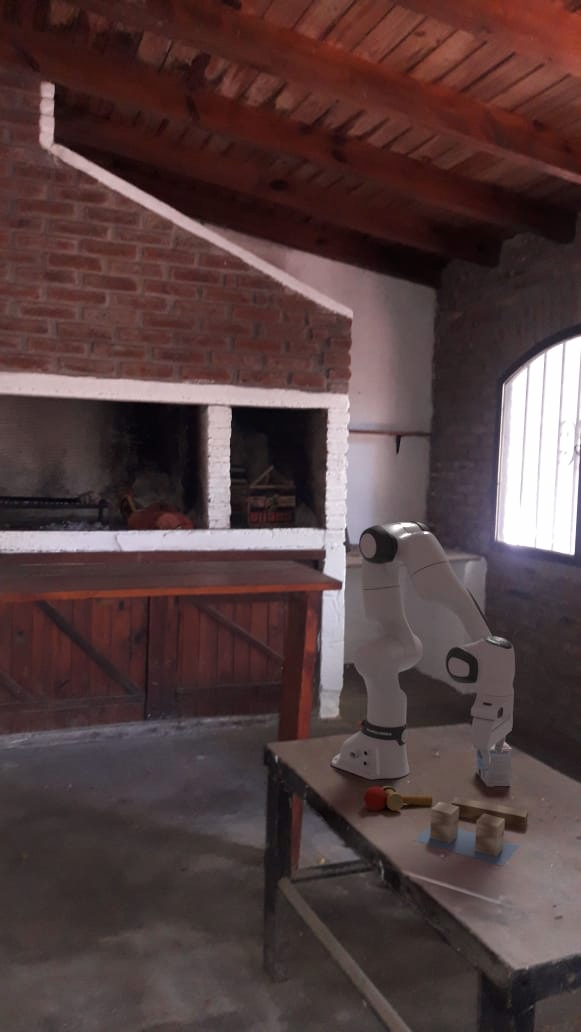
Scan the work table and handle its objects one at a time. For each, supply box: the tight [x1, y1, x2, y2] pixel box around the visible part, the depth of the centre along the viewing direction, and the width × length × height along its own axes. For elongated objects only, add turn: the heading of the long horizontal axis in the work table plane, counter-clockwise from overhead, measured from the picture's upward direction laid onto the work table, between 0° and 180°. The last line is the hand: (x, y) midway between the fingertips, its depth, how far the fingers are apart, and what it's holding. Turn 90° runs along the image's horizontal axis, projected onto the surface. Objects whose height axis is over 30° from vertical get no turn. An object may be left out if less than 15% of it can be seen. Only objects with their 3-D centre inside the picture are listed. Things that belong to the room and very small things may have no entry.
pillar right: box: [475, 814, 505, 857], centre depth 191 cm, size 5×5×7 cm
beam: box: [451, 796, 529, 830], centre depth 208 cm, size 18×4×4 cm, turn 66°
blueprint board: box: [413, 824, 519, 867], centre depth 195 cm, size 21×12×1 cm, turn 58°
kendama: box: [363, 785, 433, 812], centre depth 214 cm, size 8×6×18 cm
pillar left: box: [430, 801, 460, 843], centre depth 197 cm, size 5×5×7 cm
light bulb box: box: [475, 741, 513, 787], centre depth 235 cm, size 11×7×11 cm, turn 5°
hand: (492, 757), depth 207 cm, fingers open, 8 cm apart
